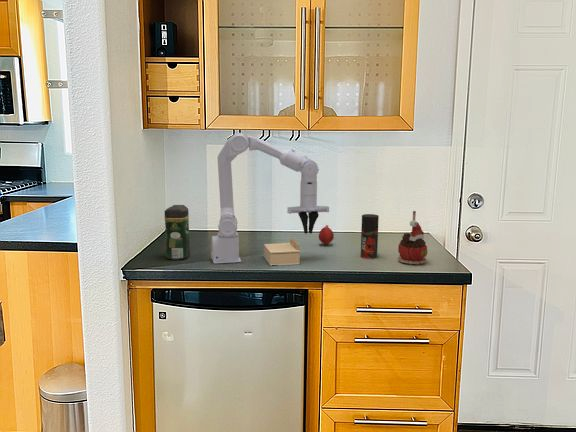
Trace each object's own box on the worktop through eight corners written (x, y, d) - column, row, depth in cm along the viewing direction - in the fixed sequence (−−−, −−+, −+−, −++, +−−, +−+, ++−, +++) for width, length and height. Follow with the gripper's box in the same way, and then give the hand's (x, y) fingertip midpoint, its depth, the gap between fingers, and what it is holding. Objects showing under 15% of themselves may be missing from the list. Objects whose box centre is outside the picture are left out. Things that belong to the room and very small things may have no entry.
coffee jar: (170, 253, 201) (168, 203, 198) (191, 253, 201) (190, 203, 197) (163, 260, 192) (161, 207, 188) (186, 260, 191) (184, 208, 188)
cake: (409, 256, 199) (411, 207, 195) (432, 262, 192) (434, 211, 189) (391, 262, 192) (393, 211, 188) (414, 267, 185) (417, 214, 182)
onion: (321, 247, 212) (321, 226, 211) (316, 243, 218) (316, 223, 216) (335, 246, 214) (336, 226, 212) (330, 243, 219) (330, 223, 218)
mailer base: (270, 265, 186) (270, 254, 185) (264, 256, 197) (264, 246, 196) (299, 264, 188) (299, 252, 187) (291, 255, 199) (291, 244, 199)
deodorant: (379, 255, 200) (381, 215, 197) (373, 259, 195) (374, 217, 192) (364, 253, 203) (365, 213, 200) (357, 257, 198) (359, 216, 195)
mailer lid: (270, 253, 185) (270, 246, 184) (263, 245, 196) (263, 238, 196) (300, 252, 187) (300, 245, 187) (291, 243, 199) (291, 237, 198)
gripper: (290, 196, 185) (290, 236, 187) (332, 195, 188) (331, 234, 191) (286, 193, 192) (285, 232, 194) (326, 192, 195) (325, 230, 197)
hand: (308, 233), depth 193 cm, fingers closed
